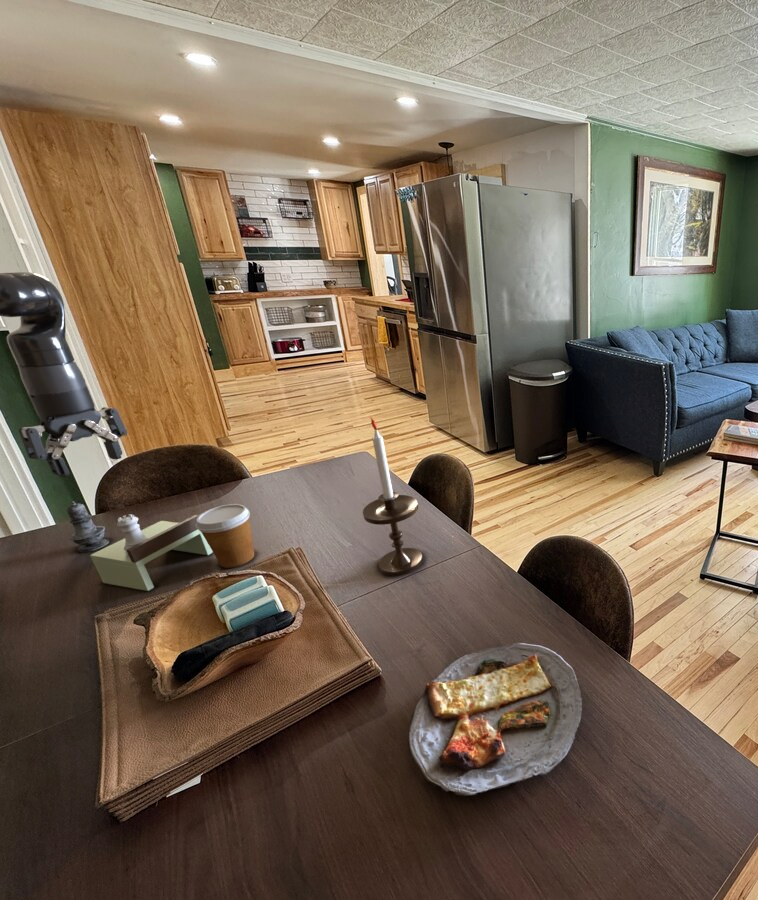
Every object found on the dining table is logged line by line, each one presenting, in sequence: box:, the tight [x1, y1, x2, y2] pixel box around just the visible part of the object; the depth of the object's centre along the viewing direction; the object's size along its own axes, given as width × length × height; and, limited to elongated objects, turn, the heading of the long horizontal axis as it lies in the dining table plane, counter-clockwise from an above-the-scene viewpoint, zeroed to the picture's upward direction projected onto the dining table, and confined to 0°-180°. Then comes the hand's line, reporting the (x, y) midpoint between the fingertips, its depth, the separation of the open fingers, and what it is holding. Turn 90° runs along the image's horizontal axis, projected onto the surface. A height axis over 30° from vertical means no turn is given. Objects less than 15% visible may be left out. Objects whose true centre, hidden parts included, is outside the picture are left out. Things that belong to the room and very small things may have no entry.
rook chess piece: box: [116, 513, 149, 555], centre depth 97 cm, size 4×4×8 cm
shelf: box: [89, 514, 214, 592], centre depth 103 cm, size 12×14×10 cm
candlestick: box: [362, 416, 423, 577], centre depth 100 cm, size 11×11×35 cm
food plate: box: [407, 641, 583, 797], centre depth 71 cm, size 25×23×4 cm
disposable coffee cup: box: [196, 503, 255, 568], centre depth 105 cm, size 10×10×12 cm
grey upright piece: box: [66, 500, 110, 553], centre depth 110 cm, size 6×6×12 cm
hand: (91, 466), depth 94 cm, fingers open, 8 cm apart
